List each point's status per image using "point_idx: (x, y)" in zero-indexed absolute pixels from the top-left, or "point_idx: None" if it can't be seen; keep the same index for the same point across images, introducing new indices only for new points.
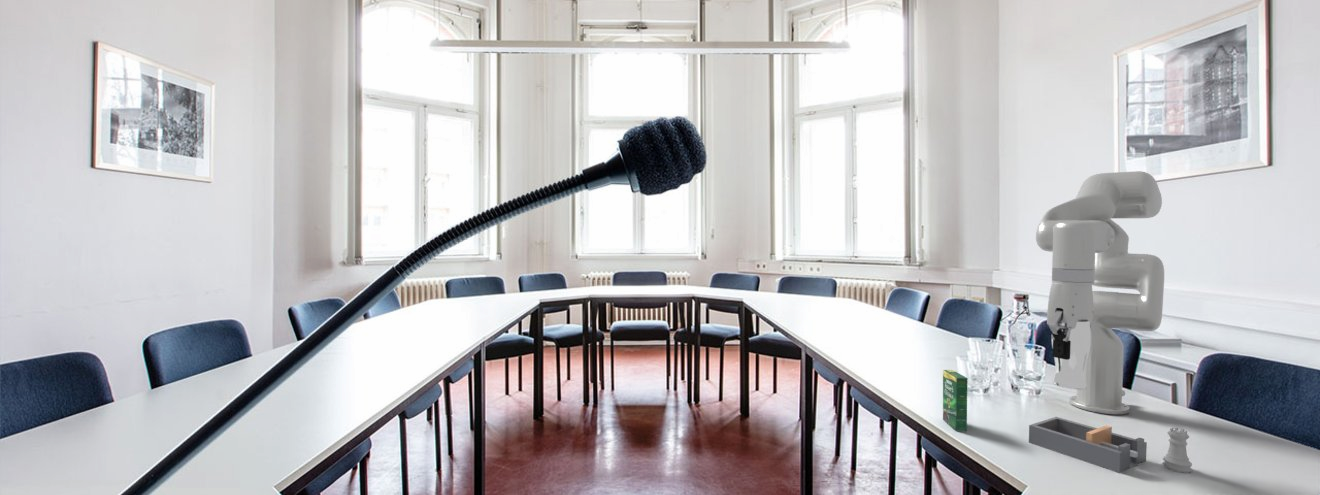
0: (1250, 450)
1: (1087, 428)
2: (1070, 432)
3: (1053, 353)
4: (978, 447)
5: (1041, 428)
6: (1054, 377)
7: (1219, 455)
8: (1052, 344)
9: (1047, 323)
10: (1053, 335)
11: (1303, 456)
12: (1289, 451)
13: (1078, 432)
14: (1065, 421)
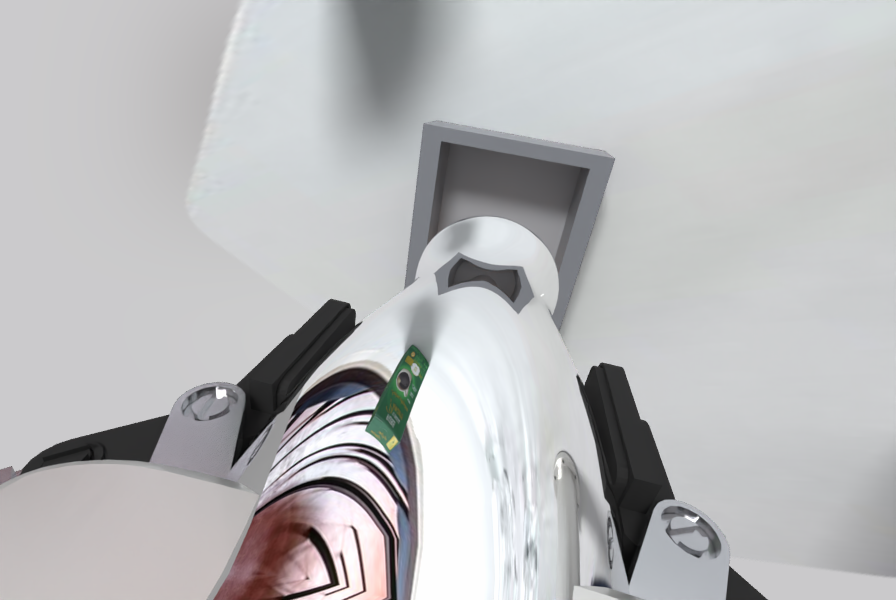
0: (820, 505)
1: (561, 262)
2: (572, 206)
3: (322, 312)
4: (261, 28)
5: (423, 165)
6: (445, 238)
7: (720, 461)
8: (369, 318)
9: (10, 480)
10: (126, 432)
11: (845, 566)
12: (873, 554)
13: (566, 231)
14: (581, 196)
